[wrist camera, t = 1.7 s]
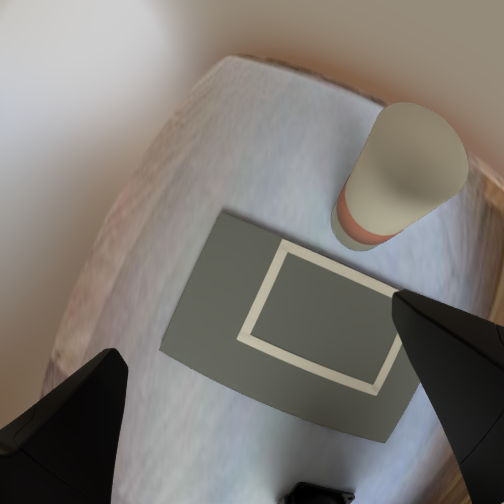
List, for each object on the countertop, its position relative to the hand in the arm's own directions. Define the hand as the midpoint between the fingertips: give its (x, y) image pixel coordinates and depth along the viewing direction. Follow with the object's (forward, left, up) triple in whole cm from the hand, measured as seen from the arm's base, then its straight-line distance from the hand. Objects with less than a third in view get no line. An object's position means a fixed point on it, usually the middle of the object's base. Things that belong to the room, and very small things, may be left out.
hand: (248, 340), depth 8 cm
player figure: (-4, -10, -15) cm, 18 cm away
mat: (-4, +1, -15) cm, 15 cm away
